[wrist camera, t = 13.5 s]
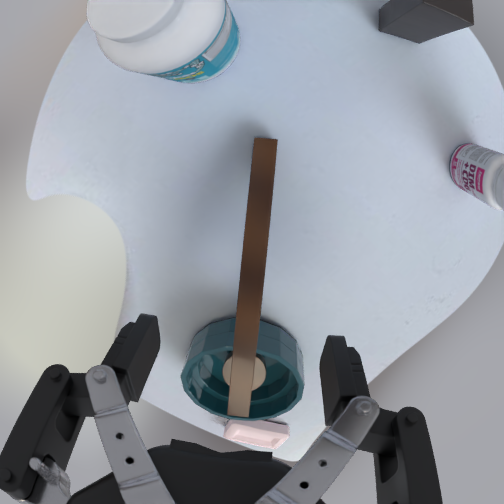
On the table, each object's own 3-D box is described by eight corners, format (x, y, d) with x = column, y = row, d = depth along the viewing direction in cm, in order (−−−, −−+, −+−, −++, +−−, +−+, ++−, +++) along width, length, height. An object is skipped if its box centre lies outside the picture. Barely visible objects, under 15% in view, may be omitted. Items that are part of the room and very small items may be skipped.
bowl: (171, 330, 34) (158, 360, 30) (280, 300, 31) (280, 332, 27) (220, 397, 39) (215, 425, 35) (313, 378, 36) (316, 409, 32)
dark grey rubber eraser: (419, 43, 19) (474, 25, 11) (378, 31, 19) (422, 2, 11) (419, 21, 18) (472, -3, 10) (379, 8, 18) (421, -27, 10)
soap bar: (234, 411, 40) (232, 424, 38) (290, 424, 41) (290, 437, 39) (224, 427, 43) (222, 439, 41) (276, 438, 44) (276, 450, 41)
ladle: (263, 386, 33) (263, 436, 23) (222, 382, 34) (207, 430, 23) (286, 175, 33) (296, 141, 23) (243, 170, 33) (235, 135, 23)
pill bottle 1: (143, 70, 22) (42, 53, 10) (178, -1, 19) (104, -67, 7) (219, 97, 23) (163, 84, 11) (257, 22, 20) (239, -54, 8)
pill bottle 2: (441, 156, 23) (494, 179, 16) (474, 134, 22) (530, 150, 14) (458, 198, 25) (508, 231, 17) (489, 176, 23) (541, 202, 16)
